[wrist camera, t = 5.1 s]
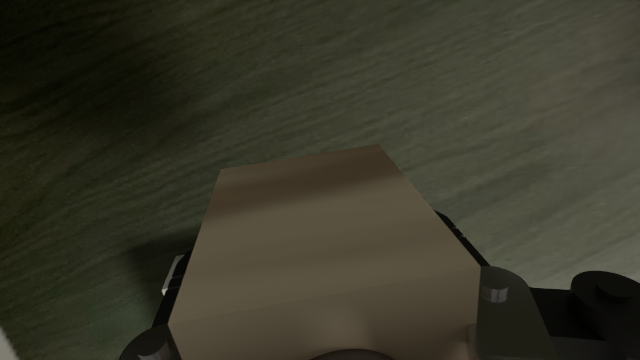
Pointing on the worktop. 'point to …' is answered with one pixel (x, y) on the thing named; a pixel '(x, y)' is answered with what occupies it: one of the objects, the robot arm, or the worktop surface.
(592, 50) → the worktop surface
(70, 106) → the worktop surface
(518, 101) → the worktop surface
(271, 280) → the block
